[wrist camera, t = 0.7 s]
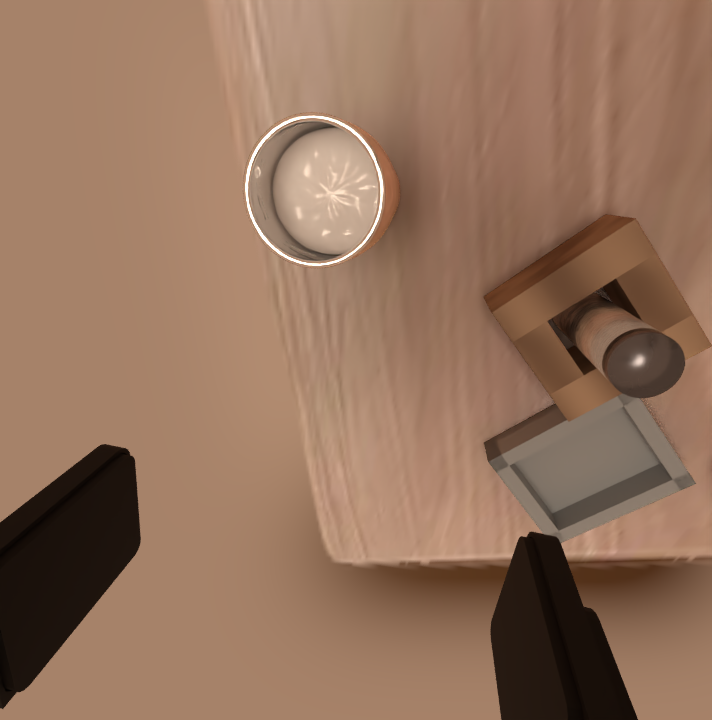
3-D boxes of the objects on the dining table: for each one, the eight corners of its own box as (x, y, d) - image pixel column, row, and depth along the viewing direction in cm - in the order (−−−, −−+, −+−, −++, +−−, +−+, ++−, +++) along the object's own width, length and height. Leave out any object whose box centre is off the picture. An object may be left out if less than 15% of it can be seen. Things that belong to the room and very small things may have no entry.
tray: (615, 370, 36) (631, 385, 33) (676, 462, 38) (695, 483, 35) (484, 442, 40) (488, 461, 37) (544, 522, 41) (553, 546, 39)
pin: (586, 277, 34) (664, 319, 23) (610, 315, 34) (697, 374, 23) (542, 305, 35) (595, 358, 24) (566, 341, 36) (629, 409, 24)
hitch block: (605, 214, 32) (635, 218, 27) (673, 324, 34) (712, 345, 29) (483, 296, 35) (491, 312, 31) (551, 393, 37) (568, 422, 32)
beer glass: (402, 244, 35) (384, 278, 21) (314, 238, 36) (240, 267, 22) (410, 144, 32) (396, 108, 18) (315, 140, 33) (234, 103, 19)
